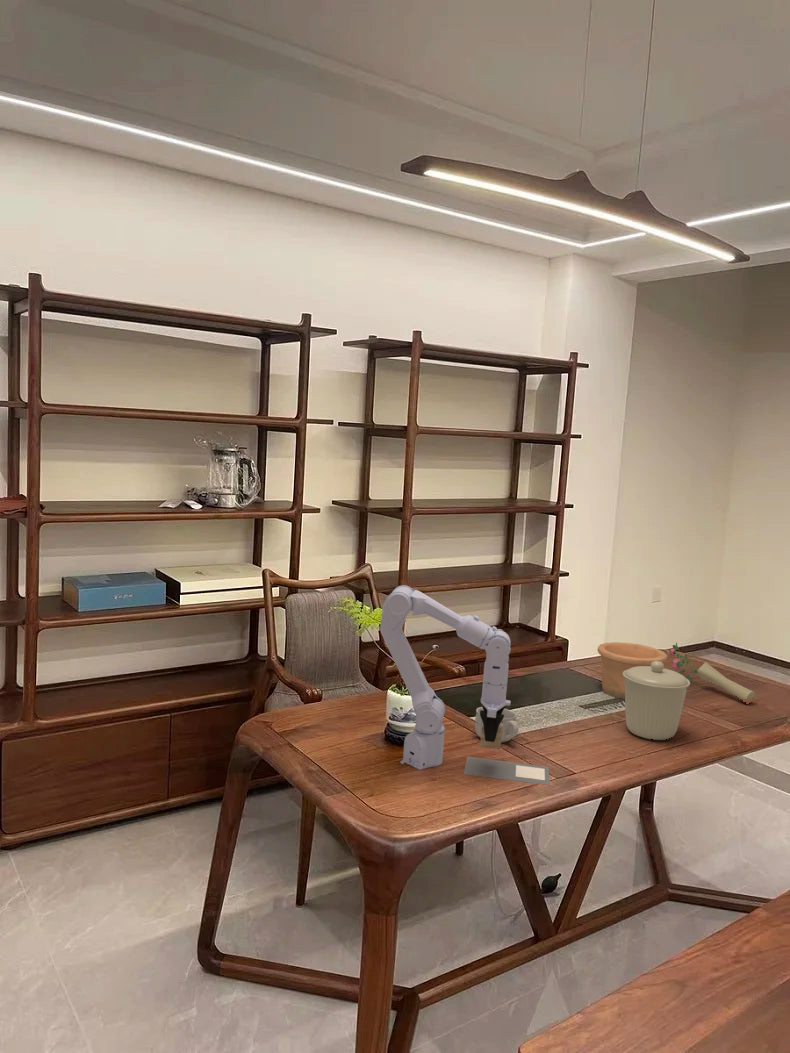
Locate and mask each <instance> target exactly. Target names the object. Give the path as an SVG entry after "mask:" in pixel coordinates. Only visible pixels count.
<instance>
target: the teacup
mask: <svg viewBox="0 0 790 1053" xmlns="http://www.w3.org/2000/svg"><path fill="white" fill-rule="evenodd" d="M480 710H482V711H484V710H483V707H482V706H480V707H477V708H476V709H475V712H476V713H475V723H474V724H475V725H474V728H475V729H474V730H475V733H476V736H478V737H479V738H480V739H481V730H482V719H481V716H480ZM502 714H504V718H503V727H502V738H501V744H502V743H506V742H509V741H510V740H511V739H513V738H515V737H516V736H517V735H518V733H519V725H518V723H517V718H518V715H517V713H516V712H515V711H512V710H510V709H507V708H505V709H504V710H503V712H502Z"/></svg>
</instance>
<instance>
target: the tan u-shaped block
mask: <svg viewBox="0 0 790 1053" xmlns="http://www.w3.org/2000/svg"><path fill="white" fill-rule="evenodd" d="M502 727H503V720H502V721H501V723H500V725H499V727H498V731H497V735H496V738H495V741H494V742H489V741H485V735H484V725H483V721H482V730H481V738H480V744H479V747H480V748H486V749H487V748H488V749H495V750H501V747H502V745H501V744H502V743H501V738H502Z"/></svg>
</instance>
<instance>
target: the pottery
mask: <svg viewBox="0 0 790 1053" xmlns="http://www.w3.org/2000/svg"><path fill="white" fill-rule="evenodd" d="M597 652H598V654H599V655H600V663H601V664H600V666H601V667H600V668H601V670H600V671H601V687H602V688H601V689H602V691H603V693H605V694H606V693H607V694H606V695H608V696H610V695H611V697H613V696H614V697H613V698H616V697H618V698H617V699H620V698H622V699H621V700H624V699H625V677H624V676H623V672H624V671H625V670H628V669H630V668H632V667H637V666H651V663H652V662H654V661H660V662H662V663H663V664H665V663H666V662H667V660H668V654H666V652H665V651H663V650H660V649H659V648H658V649H657V648H655V647H652V646H648V645H643V644H638V643H633V642H632V643H631V642H620V641H619V642H618V641H615V642H613V641H612V642H606V643H605V642H604V643H601V644H599V645H598V646H597Z"/></svg>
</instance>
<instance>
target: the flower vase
mask: <svg viewBox="0 0 790 1053" xmlns="http://www.w3.org/2000/svg"><path fill="white" fill-rule="evenodd" d="M677 650H678V651H679V652H678V651H677ZM668 652H669V655H670V656H675V655H676V657H675V658H673V660H672V661H671V667H672V670H673V671H675V672H678V673H680V674H682V673H685V672H689V671H688V670H686V669H682V668H684V667H686V668H689V669H692V670H694V671H693V672H692V671H691V673H692V674H691V675H690V674H687V675H686V676H684V677H685V678H687V679H688V680H689V681H690V679H692V680H693V676H694V677H695V674H698V677H699V678H700V679H701V680H704V681H706V682H709V683H711V684H713V685H716V686H718V687H721V688H722V689H724V690H725V691H727V692H728V693H730V694H731V695H732V694H733V695H732V696H734V695H735V696H737V697H741V698H743V699H750V698H754V697H756V692H755V691H753V690H751V689H749V688H747V687H744V686H742V685H741V684H739V683H737V682H735V681H732V680H730V679H729V678H727V677H726V676H725V675H723V674H722V673H720V672H719V671H718V670H717V669H715V668H714V667H713V666H711V665H710V664H709V663H708V662H707V661H705V662H704V663H703V664H702V665H701V666H700V667H699V668H698V669H697V668H696V667H695V666H693V664H692V663H691V662H690V661H689V660H687V659H688V657H687V655H688V652H686V653H685V656H683V655H682V654H680V653H681V651H680V649H679V646H678V643H677V641H676V643H675V644H673V645H672V647H671V648H670V649H669V651H668ZM689 665H690V666H689ZM735 696H734V697H735ZM737 697H736V698H737Z"/></svg>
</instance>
